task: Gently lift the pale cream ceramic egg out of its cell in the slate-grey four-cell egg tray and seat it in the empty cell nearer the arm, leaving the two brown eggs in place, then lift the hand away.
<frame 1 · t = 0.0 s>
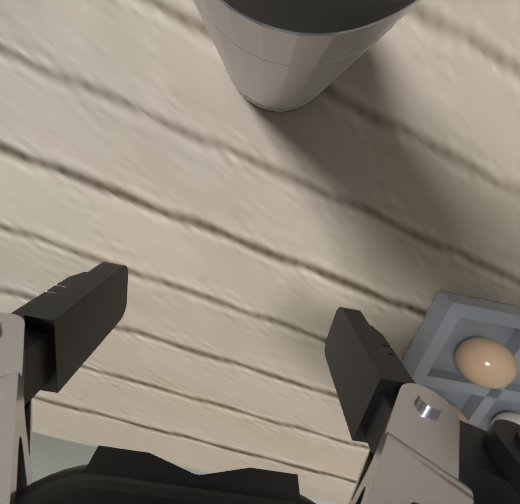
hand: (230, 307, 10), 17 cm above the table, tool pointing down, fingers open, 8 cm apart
brown egg 1: (484, 362, 28), point 3 cm above the table, touching egg tray
egg tray: (479, 376, 34), on the table
pale egg: (517, 436, 32), point 3 cm above the table, touching egg tray
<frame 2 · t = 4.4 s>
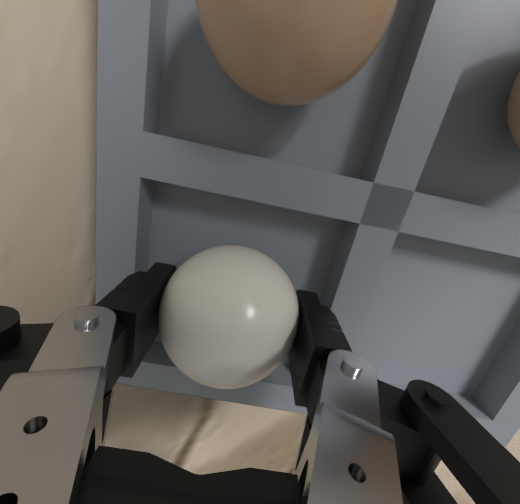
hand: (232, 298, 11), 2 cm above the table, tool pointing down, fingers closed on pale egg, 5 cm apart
egg tray: (362, 198, 12), on the table
pale egg: (230, 312, 10), point 3 cm above the table, touching egg tray, gripper
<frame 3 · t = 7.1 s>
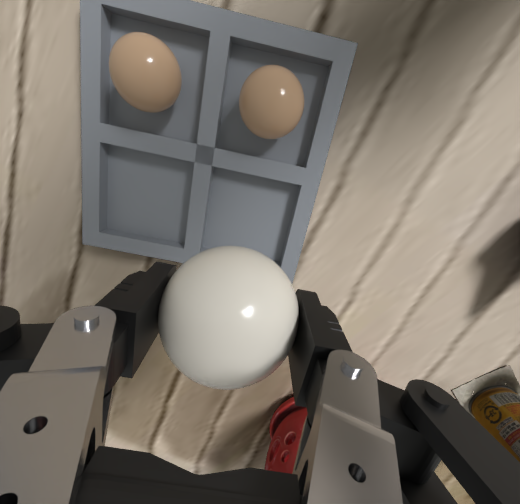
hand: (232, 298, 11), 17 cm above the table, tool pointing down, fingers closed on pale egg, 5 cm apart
brown egg 2: (146, 74, 20), point 3 cm above the table, touching egg tray
brown egg 1: (271, 104, 21), point 3 cm above the table, touching egg tray
plant pot: (310, 415, 37), on the table
egg tray: (209, 155, 25), on the table
condiment: (489, 396, 35), on the table
pale egg: (230, 313, 10), point 18 cm above the table, touching gripper
when the fingers open (4 cm above the table, at t = 10.0 s): pale egg drops 1 cm, resting on egg tray.
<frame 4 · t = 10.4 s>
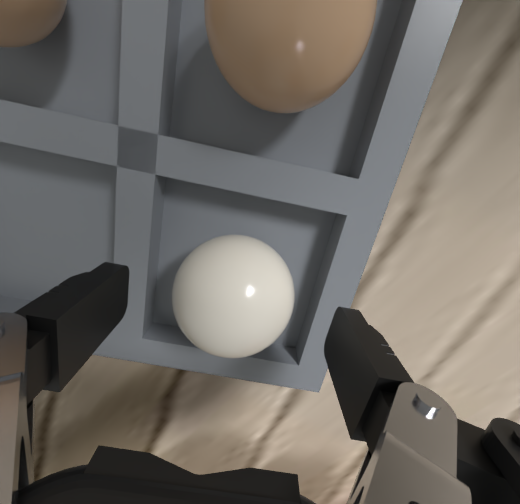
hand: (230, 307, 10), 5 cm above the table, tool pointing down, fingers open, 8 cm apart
brown egg 1: (288, 21, 8), point 3 cm above the table, touching egg tray
egg tray: (159, 151, 13), on the table
pale egg: (234, 294, 11), point 3 cm above the table, touching egg tray
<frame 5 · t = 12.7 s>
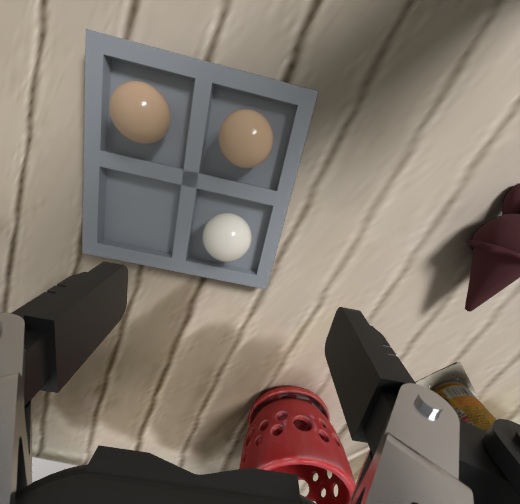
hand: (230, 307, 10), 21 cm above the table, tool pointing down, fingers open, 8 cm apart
brown egg 2: (141, 113, 24), point 3 cm above the table, touching egg tray
brown egg 1: (246, 139, 25), point 3 cm above the table, touching egg tray
icecream: (480, 241, 32), on the table
plant pot: (285, 407, 40), on the table
egg tray: (195, 177, 29), on the table
condiment: (443, 390, 40), on the table
pale egg: (227, 237, 28), point 3 cm above the table, touching egg tray
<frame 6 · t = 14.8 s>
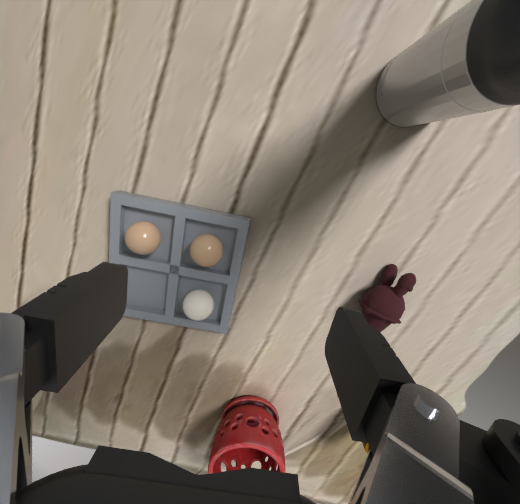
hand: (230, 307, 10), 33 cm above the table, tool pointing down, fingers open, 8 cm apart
brown egg 2: (143, 237, 40), point 3 cm above the table, touching egg tray
brown egg 1: (206, 250, 41), point 3 cm above the table, touching egg tray
icecream: (372, 298, 48), on the table
plant pot: (249, 410, 57), on the table
egg tray: (178, 264, 45), on the table
pale egg: (198, 304, 44), point 3 cm above the table, touching egg tray
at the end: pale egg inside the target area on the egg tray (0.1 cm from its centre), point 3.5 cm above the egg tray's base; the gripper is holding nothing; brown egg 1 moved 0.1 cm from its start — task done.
